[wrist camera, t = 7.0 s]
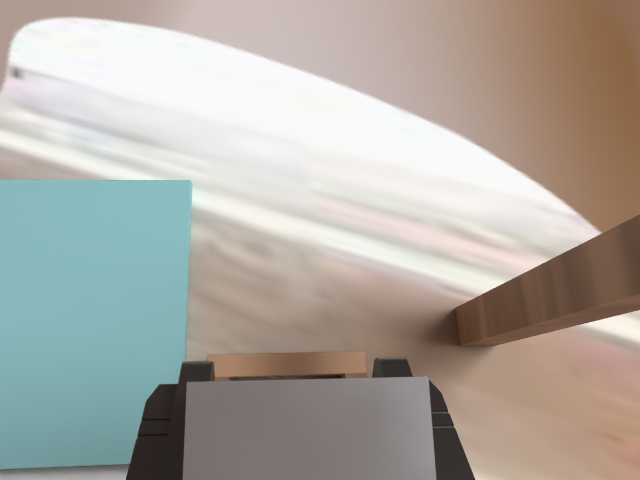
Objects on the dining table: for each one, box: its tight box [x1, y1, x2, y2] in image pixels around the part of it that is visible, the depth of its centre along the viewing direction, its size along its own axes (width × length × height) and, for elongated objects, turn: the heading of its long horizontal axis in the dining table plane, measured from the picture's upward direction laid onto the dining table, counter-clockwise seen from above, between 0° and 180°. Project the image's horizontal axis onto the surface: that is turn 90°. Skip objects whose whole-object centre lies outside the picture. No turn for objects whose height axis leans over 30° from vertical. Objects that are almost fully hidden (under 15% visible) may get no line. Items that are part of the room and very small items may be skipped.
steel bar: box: [183, 377, 436, 480], centre depth 13 cm, size 4×4×9 cm
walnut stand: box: [207, 215, 640, 381], centre depth 18 cm, size 15×12×18 cm
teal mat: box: [0, 180, 192, 469], centre depth 27 cm, size 16×14×1 cm
